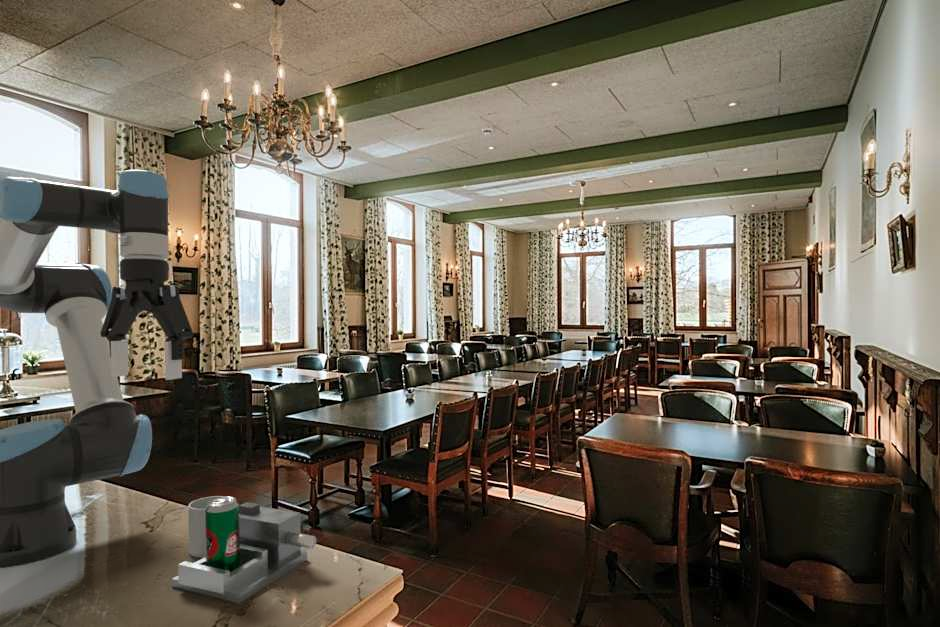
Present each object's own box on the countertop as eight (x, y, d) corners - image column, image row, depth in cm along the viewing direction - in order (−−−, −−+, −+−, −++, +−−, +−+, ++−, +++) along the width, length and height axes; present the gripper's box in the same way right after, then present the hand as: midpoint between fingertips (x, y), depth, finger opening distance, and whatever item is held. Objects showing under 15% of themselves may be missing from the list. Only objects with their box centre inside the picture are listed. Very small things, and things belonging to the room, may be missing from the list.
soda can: (232, 581, 88) (231, 506, 88) (200, 582, 88) (198, 507, 87) (244, 566, 93) (243, 495, 93) (214, 567, 93) (213, 496, 92)
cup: (199, 562, 98) (199, 512, 98) (175, 547, 104) (174, 500, 104) (238, 548, 104) (238, 501, 104) (213, 535, 110) (212, 490, 110)
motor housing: (167, 590, 88) (167, 529, 88) (246, 548, 104) (245, 496, 104) (255, 611, 82) (254, 546, 82) (324, 563, 97) (324, 508, 97)
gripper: (76, 260, 100) (78, 377, 100) (177, 253, 91) (179, 382, 91) (116, 263, 107) (118, 372, 107) (214, 257, 98) (215, 377, 98)
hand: (146, 377), depth 99 cm, fingers open, 13 cm apart
